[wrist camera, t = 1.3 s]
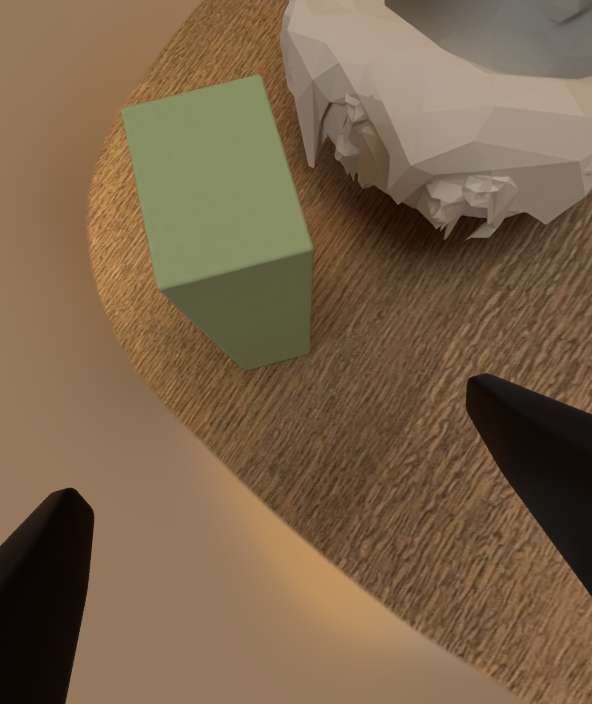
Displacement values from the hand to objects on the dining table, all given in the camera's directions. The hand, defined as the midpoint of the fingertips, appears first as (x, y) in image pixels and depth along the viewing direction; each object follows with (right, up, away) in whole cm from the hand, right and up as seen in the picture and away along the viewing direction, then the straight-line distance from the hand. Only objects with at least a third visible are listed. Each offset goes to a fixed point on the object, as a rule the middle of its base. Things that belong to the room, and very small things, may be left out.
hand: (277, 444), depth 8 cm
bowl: (+10, +17, +17) cm, 26 cm away
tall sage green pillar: (-1, +4, +14) cm, 15 cm away
